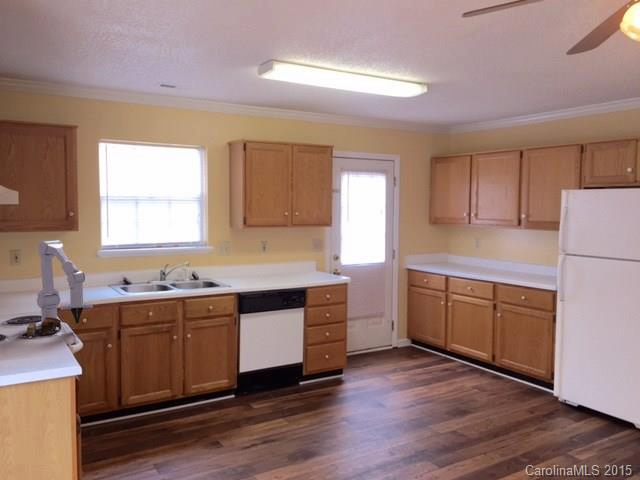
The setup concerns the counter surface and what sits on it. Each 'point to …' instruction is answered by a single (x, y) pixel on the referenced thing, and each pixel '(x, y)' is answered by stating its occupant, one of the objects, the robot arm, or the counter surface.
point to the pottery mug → (50, 325)
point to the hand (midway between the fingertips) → (77, 323)
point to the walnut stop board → (31, 329)
